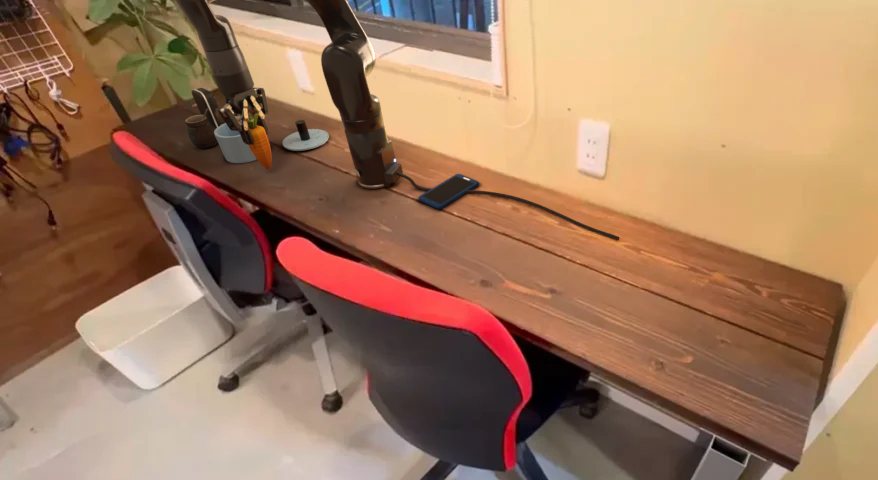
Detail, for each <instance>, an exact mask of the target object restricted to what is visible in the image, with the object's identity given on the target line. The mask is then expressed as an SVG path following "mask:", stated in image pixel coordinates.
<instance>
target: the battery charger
mask: <svg viewBox="0 0 878 480" xmlns="http://www.w3.org/2000/svg"><path fill="white" fill-rule="evenodd" d="M191 95H192V98H193V100H194V102H195V105H196V106H197V108H198V109H197V110H198V111H199V113H200V115H204V114H205V111H206V109H207V108H208V111H207V113H206V117H207V119H208V122H209V123H210V124H211V125H212V126H213V127H214V128H215V130H216V128H217V127H219V126H221V125H222V124H223V123H221V122H220V121H219V119H218V117H217V115H216V112H217V110H216V109H218V108H219V104H218V102H217V100H216V97H215V96H214V94H213V92H211V90H208V89H206V88H203V87H199V88H194V89H193V90H191Z"/></svg>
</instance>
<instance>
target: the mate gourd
mask: <svg viewBox="0 0 878 480" xmlns="http://www.w3.org/2000/svg"><path fill="white" fill-rule="evenodd" d="M207 111H208V108H207V109H206V111H205V114H204V115H201V114H195V115H191V116H189V117H187V118H186V119H185V120H184V123H185V125H186V126H187V130H188V131H187V133H188V134H187V135H188V138H189V140H190V142H191V143H192V144H193V145H194V146H195V147H196V148H198V149H203V150H204V149H209V148H213V147H215V146H216V145H217V143H218V141H217V139H216V137H215V134H214V131H215V128H214V127H213V126H212V125H211V124H210V123H209V122H208V119H207V117H206V113H207Z"/></svg>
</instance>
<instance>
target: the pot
mask: <svg viewBox="0 0 878 480" xmlns="http://www.w3.org/2000/svg"><path fill="white" fill-rule="evenodd" d="M252 119H253V121H254V118H252ZM248 120H249V119H248ZM249 121H250V120H249ZM240 123H241V125H242V121H241V120H240ZM221 124H222V125H221V126H219V127H217V128H216V130H215V131H214V134H215V137H216V139H217V143H218V145H219V148H220V150H221V152H222V154H223V156H224V158H225V160H226V161H227V162H229V163H231V164H246V163H250V162H254V161H258V160H257V159H256V157H255V156H254V154H253V153H252V151H251V149H250V147H249V145H248V144H245V143H244V142H243V140H242V137H241V135H240V133H239V131H232V130H230V129H229V127H228V126H227V124H226V123H225V122H224V123H221Z"/></svg>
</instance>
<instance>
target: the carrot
mask: <svg viewBox="0 0 878 480" xmlns="http://www.w3.org/2000/svg"><path fill="white" fill-rule="evenodd" d="M239 116H242V114H239ZM258 116H259V115H258V114H256V113H255V115H254V117H253V118H252V115H251V114H250V113H248V119H249V120H250V121H249V120H247V124H248V129H249V131H250V133H251V136H252V138H253V140H254V144H252V145H249V147H250V149H251V151H252V153H253V154H254V156H255V157H256V159H257V160H256V161H257V162H258V163H259V164H260V165H261V166H262V167H263V168H265V169H266V170H268V171H270V170H271V168H272V162H273V161H272V159H273V158H272V157H273V155H272V150H271V149H272V148H271V143H270V140H269V137H268V134H266V132H265V129H264V128H263V127H262V126H258V125H256V124H257V119H258ZM253 119H254V121H253Z"/></svg>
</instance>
